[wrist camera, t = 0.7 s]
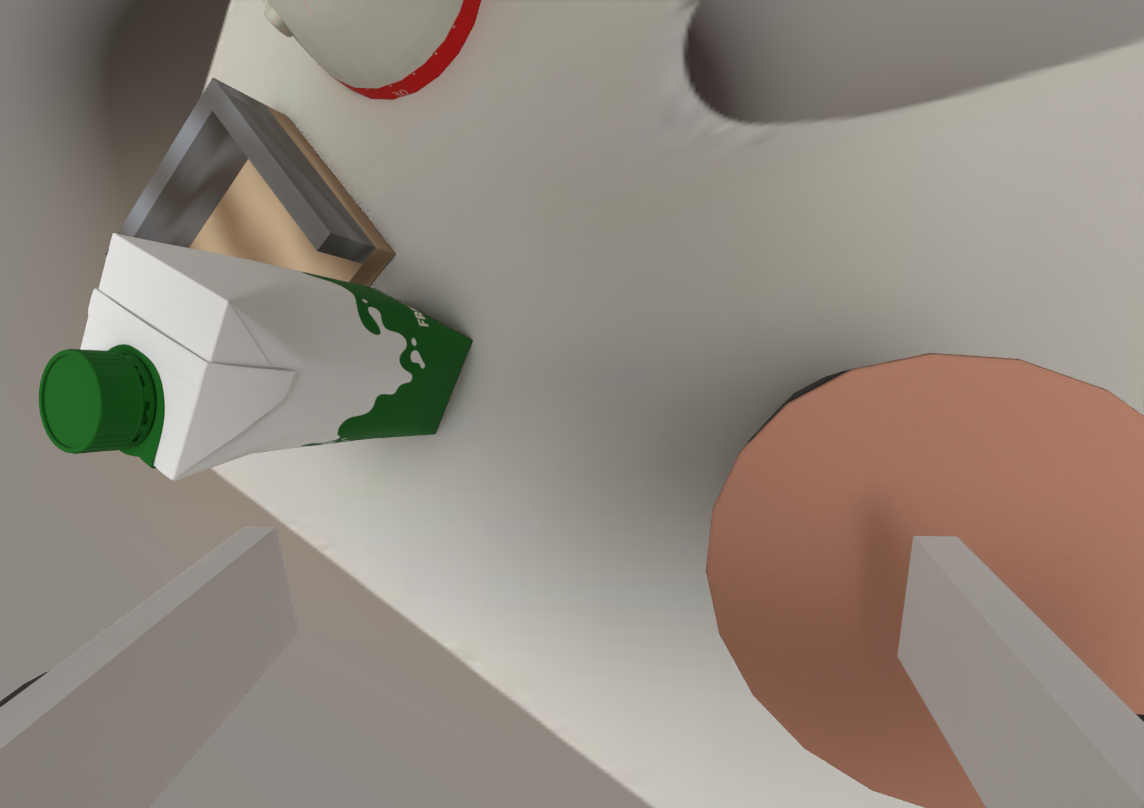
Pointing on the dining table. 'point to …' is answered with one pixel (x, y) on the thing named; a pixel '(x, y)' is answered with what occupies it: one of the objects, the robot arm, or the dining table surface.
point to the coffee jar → (923, 508)
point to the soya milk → (240, 362)
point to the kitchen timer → (378, 39)
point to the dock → (255, 195)
